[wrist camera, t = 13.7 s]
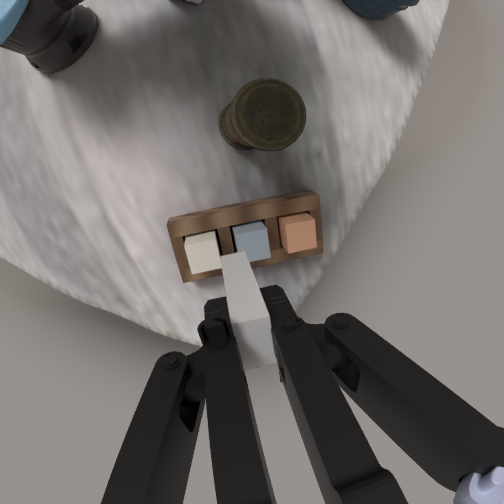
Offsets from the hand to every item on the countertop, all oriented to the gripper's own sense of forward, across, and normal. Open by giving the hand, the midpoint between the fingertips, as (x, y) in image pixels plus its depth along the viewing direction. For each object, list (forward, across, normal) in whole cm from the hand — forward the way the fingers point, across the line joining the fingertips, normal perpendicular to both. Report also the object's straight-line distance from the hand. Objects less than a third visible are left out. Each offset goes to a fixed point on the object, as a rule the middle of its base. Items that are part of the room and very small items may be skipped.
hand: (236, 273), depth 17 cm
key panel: (+32, +4, -9) cm, 34 cm away
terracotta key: (+31, +12, -9) cm, 34 cm away
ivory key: (+31, -4, -9) cm, 32 cm away
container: (+33, +7, +10) cm, 35 cm away
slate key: (+31, +4, -9) cm, 32 cm away
